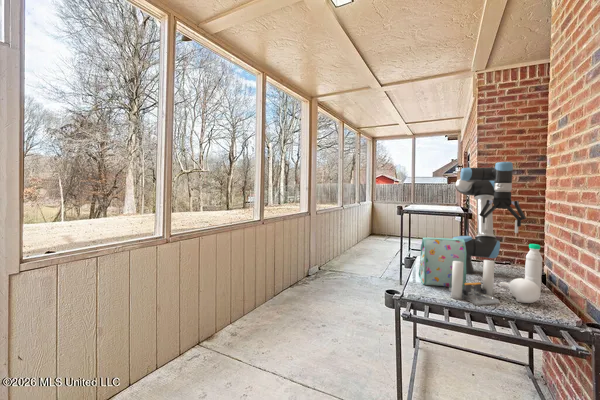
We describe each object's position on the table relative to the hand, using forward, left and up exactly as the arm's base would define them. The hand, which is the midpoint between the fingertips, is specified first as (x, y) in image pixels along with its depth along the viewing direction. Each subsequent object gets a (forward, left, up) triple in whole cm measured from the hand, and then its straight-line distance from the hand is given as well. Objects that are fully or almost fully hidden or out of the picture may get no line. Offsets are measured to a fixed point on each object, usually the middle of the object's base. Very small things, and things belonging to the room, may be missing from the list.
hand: (500, 231), depth 146 cm
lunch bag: (-14, -23, -33) cm, 43 cm away
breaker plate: (+6, -21, -32) cm, 39 cm away
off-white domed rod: (+6, -12, -32) cm, 35 cm away
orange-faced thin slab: (+6, -21, -30) cm, 38 cm away
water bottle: (+1, +22, -33) cm, 39 cm away
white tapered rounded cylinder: (+6, -30, -32) cm, 45 cm away
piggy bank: (+13, +1, -33) cm, 35 cm away
